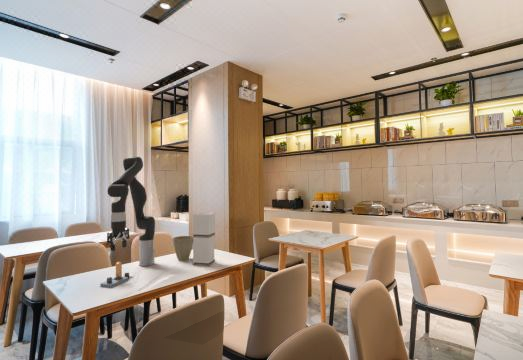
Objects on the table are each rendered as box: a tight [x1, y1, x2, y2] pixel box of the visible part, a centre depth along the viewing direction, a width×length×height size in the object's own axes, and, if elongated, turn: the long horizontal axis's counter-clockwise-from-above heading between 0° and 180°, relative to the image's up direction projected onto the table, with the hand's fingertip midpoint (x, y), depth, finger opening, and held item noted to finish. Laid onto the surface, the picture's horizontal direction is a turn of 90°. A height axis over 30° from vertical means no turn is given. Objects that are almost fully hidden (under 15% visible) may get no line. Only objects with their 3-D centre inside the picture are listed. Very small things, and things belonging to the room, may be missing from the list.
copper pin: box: [115, 261, 123, 280], centre depth 162 cm, size 3×3×12 cm
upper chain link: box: [100, 276, 128, 288], centre depth 159 cm, size 12×7×6 cm, turn 164°
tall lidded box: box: [192, 212, 216, 267], centre depth 201 cm, size 11×11×35 cm
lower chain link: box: [121, 272, 134, 284], centre depth 164 cm, size 12×7×4 cm, turn 164°
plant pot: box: [172, 235, 193, 262], centre depth 212 cm, size 15×15×16 cm
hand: (118, 249), depth 162 cm, fingers open, 8 cm apart
